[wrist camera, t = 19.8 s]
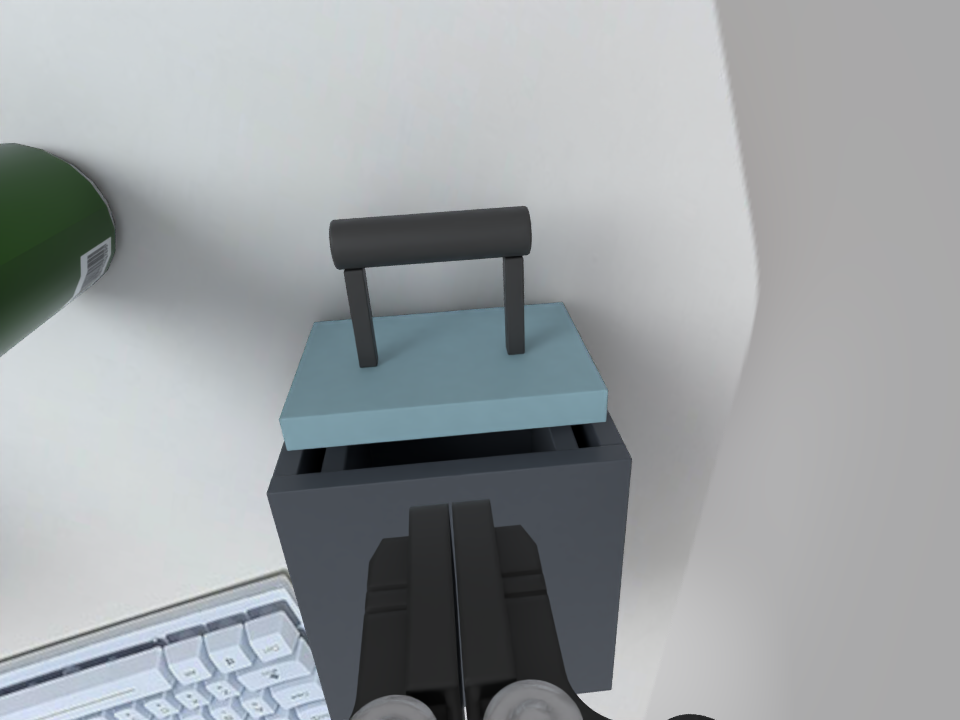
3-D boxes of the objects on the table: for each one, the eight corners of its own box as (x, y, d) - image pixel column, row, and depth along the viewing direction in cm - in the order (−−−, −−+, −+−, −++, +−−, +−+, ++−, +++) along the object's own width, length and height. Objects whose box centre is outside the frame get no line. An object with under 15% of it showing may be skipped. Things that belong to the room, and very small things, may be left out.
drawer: (288, 195, 21) (237, 259, 16) (564, 175, 22) (618, 229, 16) (353, 521, 29) (336, 648, 23) (559, 501, 29) (594, 621, 24)
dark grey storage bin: (311, 356, 26) (266, 493, 18) (571, 334, 26) (632, 458, 19) (352, 555, 31) (331, 722, 24) (566, 533, 32) (611, 690, 24)
